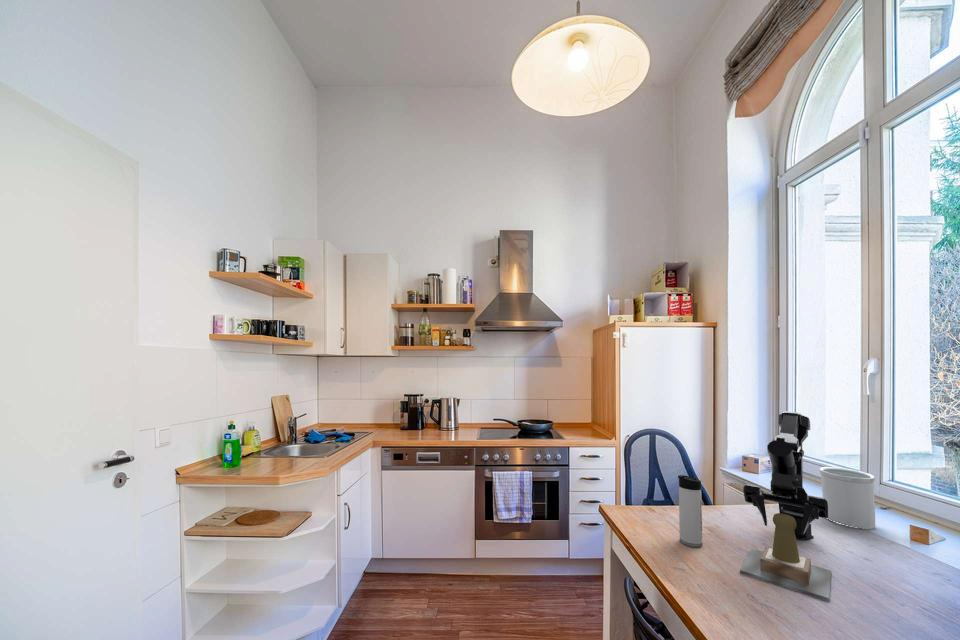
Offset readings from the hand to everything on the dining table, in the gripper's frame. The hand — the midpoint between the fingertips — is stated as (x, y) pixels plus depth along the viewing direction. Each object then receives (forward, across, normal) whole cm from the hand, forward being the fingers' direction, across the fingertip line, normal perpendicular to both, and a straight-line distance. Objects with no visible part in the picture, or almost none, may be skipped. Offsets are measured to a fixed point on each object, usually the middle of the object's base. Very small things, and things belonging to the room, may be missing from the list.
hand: (783, 529), depth 109 cm
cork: (+4, 0, +7) cm, 8 cm away
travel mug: (+6, -24, +11) cm, 27 cm away
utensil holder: (-37, +16, +54) cm, 67 cm away
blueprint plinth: (+7, 0, +9) cm, 12 cm away
